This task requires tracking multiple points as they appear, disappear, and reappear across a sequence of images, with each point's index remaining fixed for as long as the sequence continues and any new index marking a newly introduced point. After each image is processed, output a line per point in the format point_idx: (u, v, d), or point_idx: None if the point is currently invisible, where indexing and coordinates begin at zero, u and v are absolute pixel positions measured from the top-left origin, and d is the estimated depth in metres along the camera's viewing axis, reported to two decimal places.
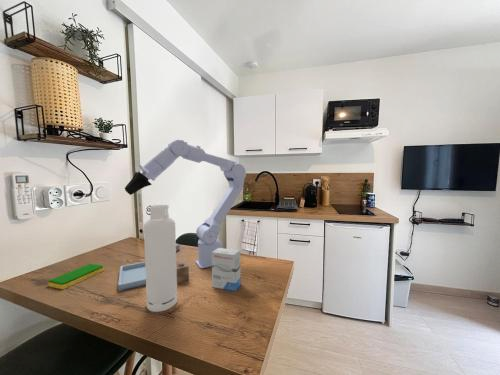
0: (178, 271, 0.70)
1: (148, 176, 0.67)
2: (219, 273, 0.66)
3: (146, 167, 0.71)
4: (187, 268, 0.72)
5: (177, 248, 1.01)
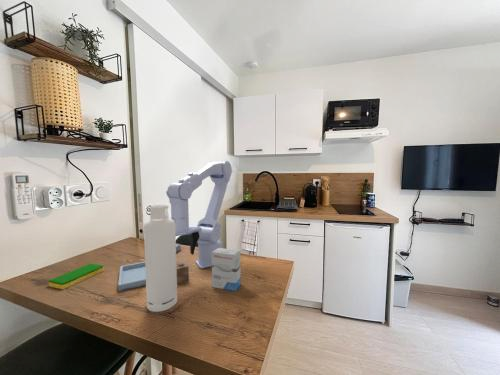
0: (178, 271, 0.70)
1: None
2: (219, 273, 0.66)
3: (187, 228, 0.71)
4: (187, 268, 0.72)
5: (179, 248, 1.00)
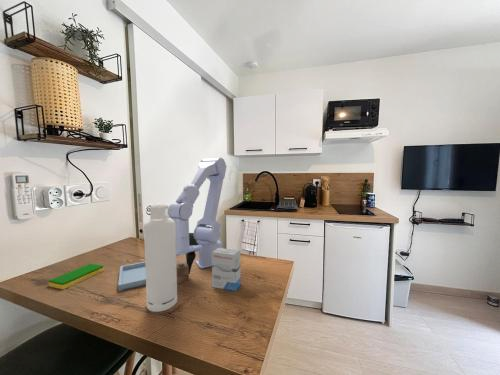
0: (178, 271, 0.70)
1: None
2: (219, 273, 0.66)
3: (187, 247, 0.72)
4: (187, 268, 0.72)
5: None
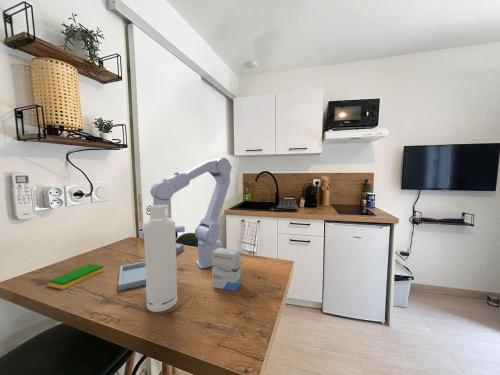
0: None
1: None
2: (219, 273, 0.66)
3: None
4: None
5: (182, 248, 1.00)
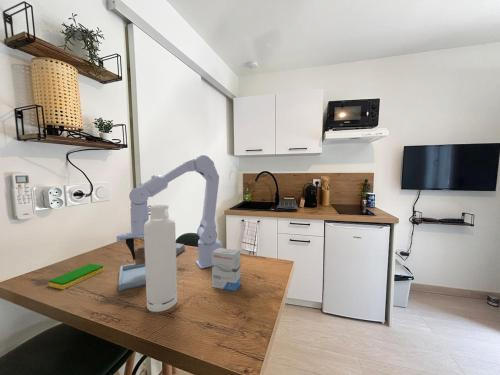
0: (137, 253, 0.73)
1: None
2: (219, 273, 0.66)
3: None
4: None
5: (183, 248, 1.00)
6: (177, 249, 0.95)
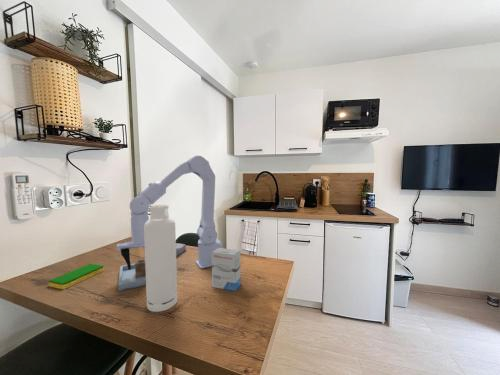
0: (137, 266, 0.73)
1: None
2: (219, 273, 0.66)
3: None
4: None
5: (184, 248, 1.00)
6: (178, 249, 0.95)
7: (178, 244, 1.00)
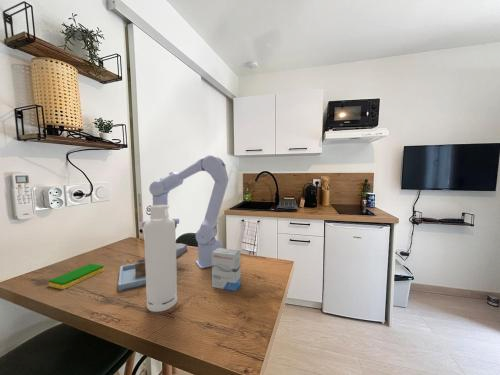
0: (137, 266, 0.73)
1: None
2: (219, 273, 0.66)
3: None
4: None
5: (185, 248, 1.00)
6: (180, 249, 0.95)
7: (179, 244, 1.00)
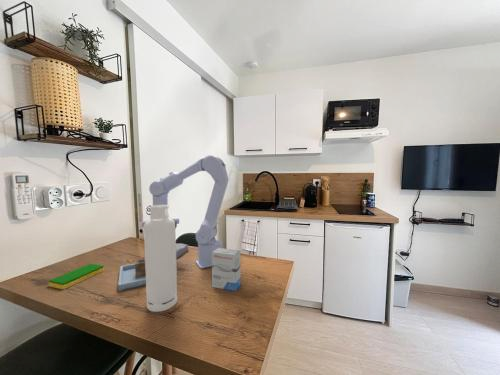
0: (137, 266, 0.73)
1: None
2: (219, 273, 0.66)
3: None
4: None
5: (186, 249, 1.00)
6: (181, 249, 0.95)
7: (180, 244, 1.00)
